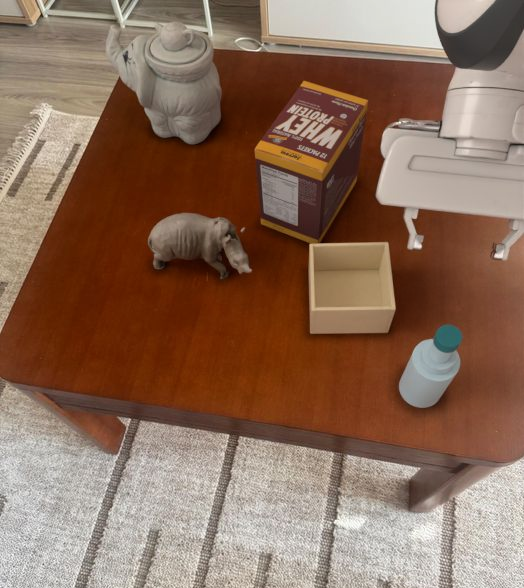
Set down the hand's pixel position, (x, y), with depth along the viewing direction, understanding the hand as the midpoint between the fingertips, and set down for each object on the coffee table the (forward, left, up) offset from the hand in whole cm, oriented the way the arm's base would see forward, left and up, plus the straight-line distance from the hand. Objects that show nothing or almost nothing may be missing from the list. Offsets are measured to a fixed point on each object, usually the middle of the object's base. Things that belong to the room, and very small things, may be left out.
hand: (455, 254), depth 61 cm
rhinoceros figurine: (+32, -11, -16) cm, 37 cm away
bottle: (+2, +10, -16) cm, 19 cm away
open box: (+11, -4, -16) cm, 20 cm away
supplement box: (+16, -23, -16) cm, 32 cm away
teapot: (+40, -43, -16) cm, 61 cm away
